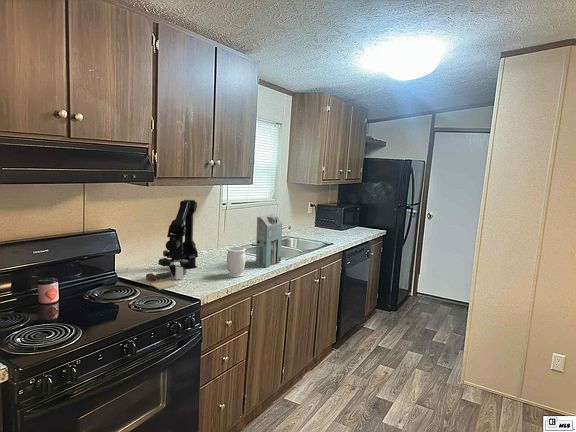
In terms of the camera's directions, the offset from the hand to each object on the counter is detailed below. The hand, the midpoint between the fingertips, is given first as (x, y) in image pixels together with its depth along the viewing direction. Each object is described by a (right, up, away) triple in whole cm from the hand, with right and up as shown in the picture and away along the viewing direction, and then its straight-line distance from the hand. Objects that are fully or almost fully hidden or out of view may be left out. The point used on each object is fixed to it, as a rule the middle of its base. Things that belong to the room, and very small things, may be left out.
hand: (177, 275), depth 211 cm
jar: (+29, -2, +12) cm, 32 cm away
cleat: (-13, -2, -3) cm, 13 cm away
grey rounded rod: (-5, -1, +5) cm, 7 cm away
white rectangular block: (0, -1, 0) cm, 1 cm away
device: (+46, +2, +37) cm, 59 cm away
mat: (-5, -3, -9) cm, 11 cm away
